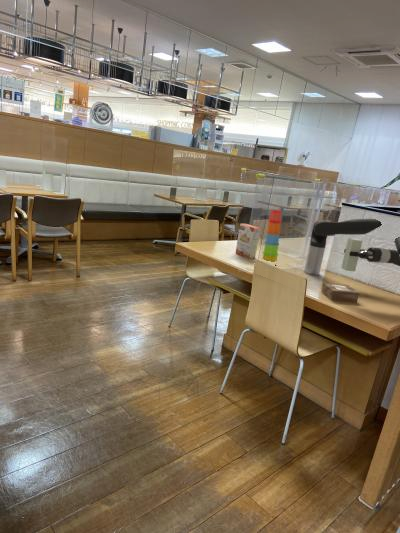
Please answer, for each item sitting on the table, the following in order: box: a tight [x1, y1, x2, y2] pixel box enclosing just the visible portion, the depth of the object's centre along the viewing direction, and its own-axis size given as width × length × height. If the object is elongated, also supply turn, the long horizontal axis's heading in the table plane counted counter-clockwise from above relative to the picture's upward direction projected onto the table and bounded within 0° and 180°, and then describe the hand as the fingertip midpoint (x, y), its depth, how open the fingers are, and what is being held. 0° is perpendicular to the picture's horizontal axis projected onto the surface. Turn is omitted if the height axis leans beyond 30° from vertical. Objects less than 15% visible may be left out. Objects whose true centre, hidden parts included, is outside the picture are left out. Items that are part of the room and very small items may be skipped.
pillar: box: [341, 237, 363, 272], centre depth 196 cm, size 5×5×16 cm
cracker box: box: [235, 223, 261, 260], centre depth 259 cm, size 14×6×21 cm, turn 37°
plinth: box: [321, 282, 360, 303], centre depth 200 cm, size 12×14×5 cm
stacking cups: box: [262, 209, 282, 262], centre depth 243 cm, size 10×10×35 cm
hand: (347, 252), depth 195 cm, fingers closed on pillar, 5 cm apart
